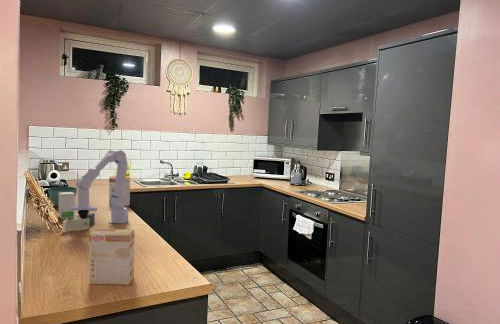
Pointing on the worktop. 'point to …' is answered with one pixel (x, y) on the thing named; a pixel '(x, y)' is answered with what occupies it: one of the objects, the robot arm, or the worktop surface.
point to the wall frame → (65, 224)
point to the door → (78, 224)
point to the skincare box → (66, 205)
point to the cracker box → (126, 188)
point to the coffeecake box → (111, 256)
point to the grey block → (91, 218)
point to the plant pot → (54, 192)
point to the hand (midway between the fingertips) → (83, 223)
